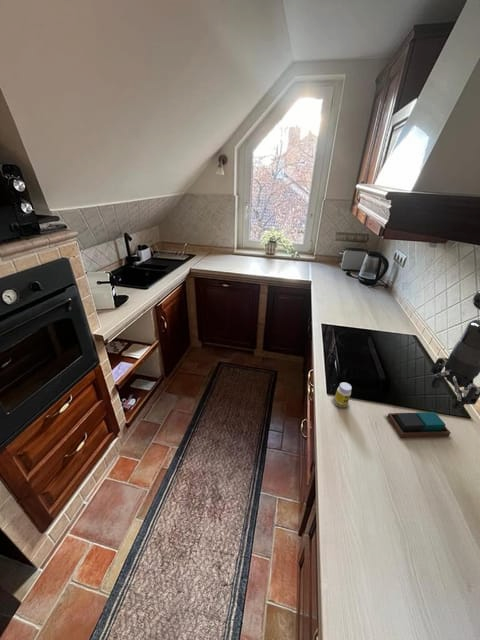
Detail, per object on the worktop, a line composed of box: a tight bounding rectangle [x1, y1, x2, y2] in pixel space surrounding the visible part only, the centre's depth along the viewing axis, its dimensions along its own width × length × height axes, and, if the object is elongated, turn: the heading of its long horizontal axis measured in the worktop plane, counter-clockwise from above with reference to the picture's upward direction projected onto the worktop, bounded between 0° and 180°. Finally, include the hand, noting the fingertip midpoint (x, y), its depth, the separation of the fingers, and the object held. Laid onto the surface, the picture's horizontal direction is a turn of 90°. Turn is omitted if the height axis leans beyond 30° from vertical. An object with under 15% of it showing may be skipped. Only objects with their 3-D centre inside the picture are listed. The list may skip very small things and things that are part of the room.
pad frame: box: [386, 411, 452, 439], centre depth 85 cm, size 16×8×2 cm, turn 93°
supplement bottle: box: [333, 381, 353, 408], centre depth 92 cm, size 5×5×8 cm
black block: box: [394, 412, 424, 433], centre depth 85 cm, size 6×5×4 cm
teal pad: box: [415, 411, 447, 432], centre depth 85 cm, size 6×5×4 cm
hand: (444, 397), depth 79 cm, fingers open, 8 cm apart
